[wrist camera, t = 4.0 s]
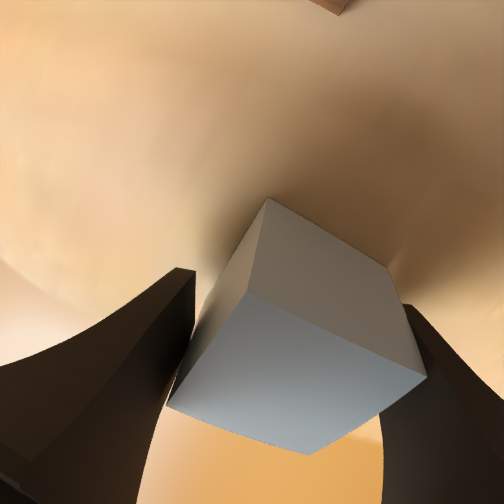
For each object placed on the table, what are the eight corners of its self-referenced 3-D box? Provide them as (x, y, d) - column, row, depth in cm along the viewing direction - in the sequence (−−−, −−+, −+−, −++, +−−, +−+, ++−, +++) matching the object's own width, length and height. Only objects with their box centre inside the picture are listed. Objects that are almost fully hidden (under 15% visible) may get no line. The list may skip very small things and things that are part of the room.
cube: (387, 268, 10) (427, 376, 6) (310, 351, 12) (309, 455, 8) (267, 197, 9) (246, 291, 5) (204, 301, 11) (165, 405, 7)
